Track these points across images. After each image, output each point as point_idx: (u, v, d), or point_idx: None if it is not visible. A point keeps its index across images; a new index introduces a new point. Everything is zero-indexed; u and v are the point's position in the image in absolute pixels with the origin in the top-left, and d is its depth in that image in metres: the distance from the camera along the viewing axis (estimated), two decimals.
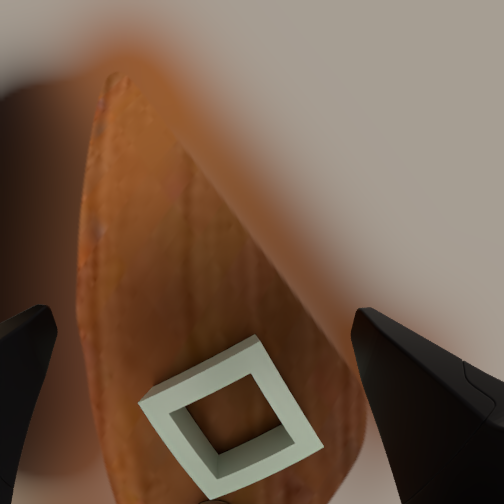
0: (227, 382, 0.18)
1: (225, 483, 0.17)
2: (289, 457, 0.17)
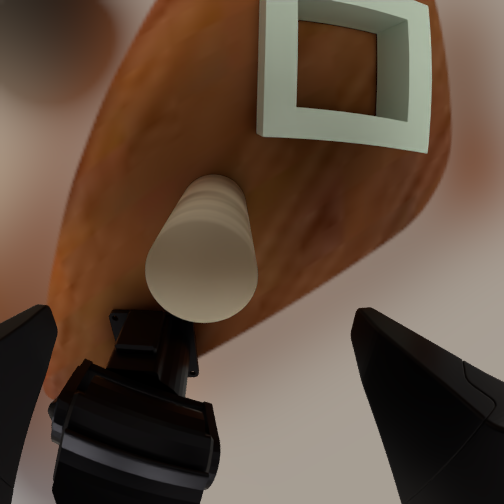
0: (382, 9, 0.11)
1: (302, 119, 0.13)
2: (392, 135, 0.14)
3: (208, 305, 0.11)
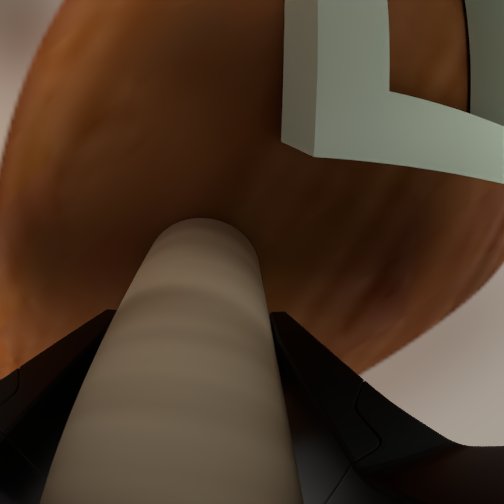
0: None
1: (401, 121, 0.05)
2: None
3: None
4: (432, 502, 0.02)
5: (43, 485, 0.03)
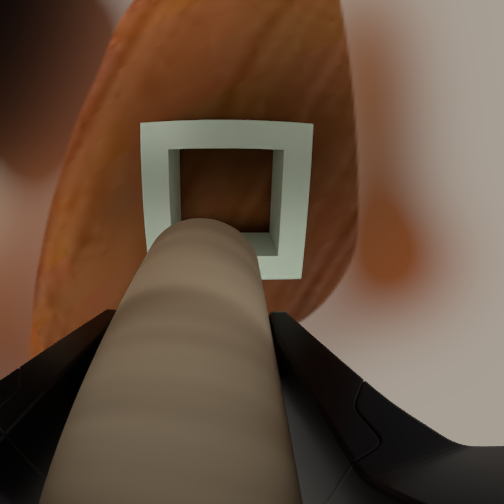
0: (254, 145, 0.15)
1: None
2: (262, 269, 0.18)
3: None
4: (432, 501, 0.02)
5: (43, 485, 0.03)
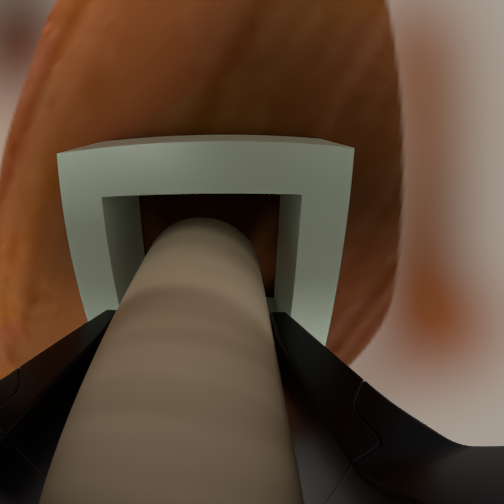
0: (248, 188, 0.09)
1: None
2: None
3: None
4: (432, 501, 0.02)
5: None
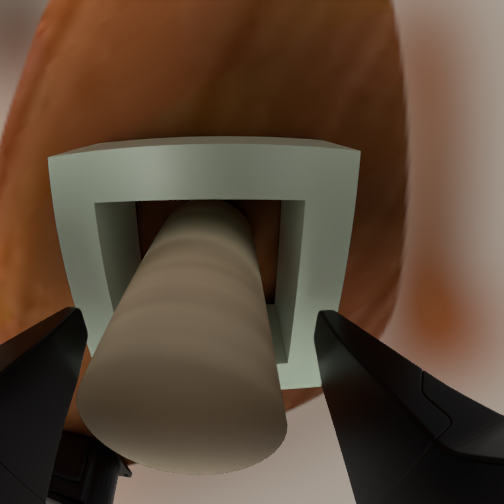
0: (249, 193, 0.08)
1: None
2: None
3: (197, 461, 0.05)
4: None
5: None
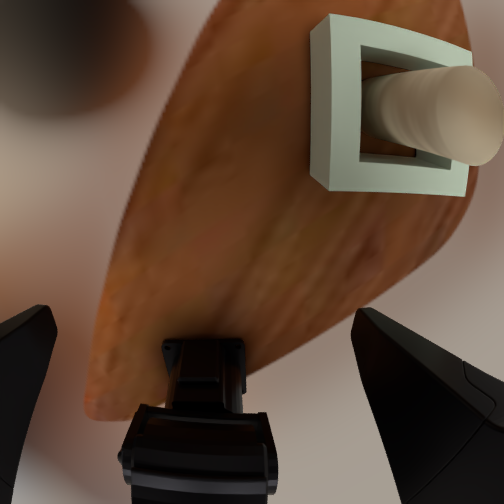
0: (434, 59, 0.12)
1: (364, 173, 0.14)
2: (438, 183, 0.15)
3: (477, 146, 0.09)
4: None
5: None
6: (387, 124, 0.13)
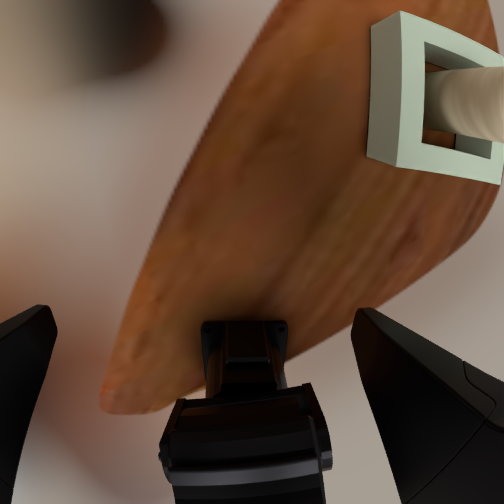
0: (479, 61, 0.12)
1: (424, 154, 0.14)
2: (480, 170, 0.15)
3: None
4: None
5: None
6: (447, 112, 0.13)
